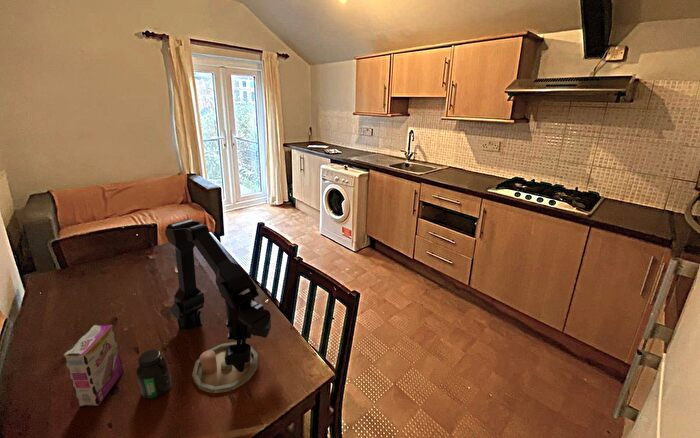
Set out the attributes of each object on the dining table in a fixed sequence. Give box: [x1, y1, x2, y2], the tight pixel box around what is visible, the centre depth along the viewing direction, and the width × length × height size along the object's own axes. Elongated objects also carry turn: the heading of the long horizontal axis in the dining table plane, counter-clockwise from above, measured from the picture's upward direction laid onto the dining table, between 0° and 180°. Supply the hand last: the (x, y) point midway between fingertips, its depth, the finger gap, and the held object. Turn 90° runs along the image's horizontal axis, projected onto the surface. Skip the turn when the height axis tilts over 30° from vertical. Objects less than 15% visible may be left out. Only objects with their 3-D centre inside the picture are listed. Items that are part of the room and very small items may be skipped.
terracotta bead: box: [199, 349, 217, 375], centre depth 91 cm, size 4×4×5 cm
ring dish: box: [191, 341, 259, 394], centre depth 93 cm, size 17×17×2 cm
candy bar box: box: [63, 324, 124, 407], centre depth 83 cm, size 11×5×16 cm, turn 5°
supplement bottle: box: [136, 348, 172, 401], centre depth 84 cm, size 7×7×12 cm
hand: (242, 359), depth 93 cm, fingers open, 9 cm apart
